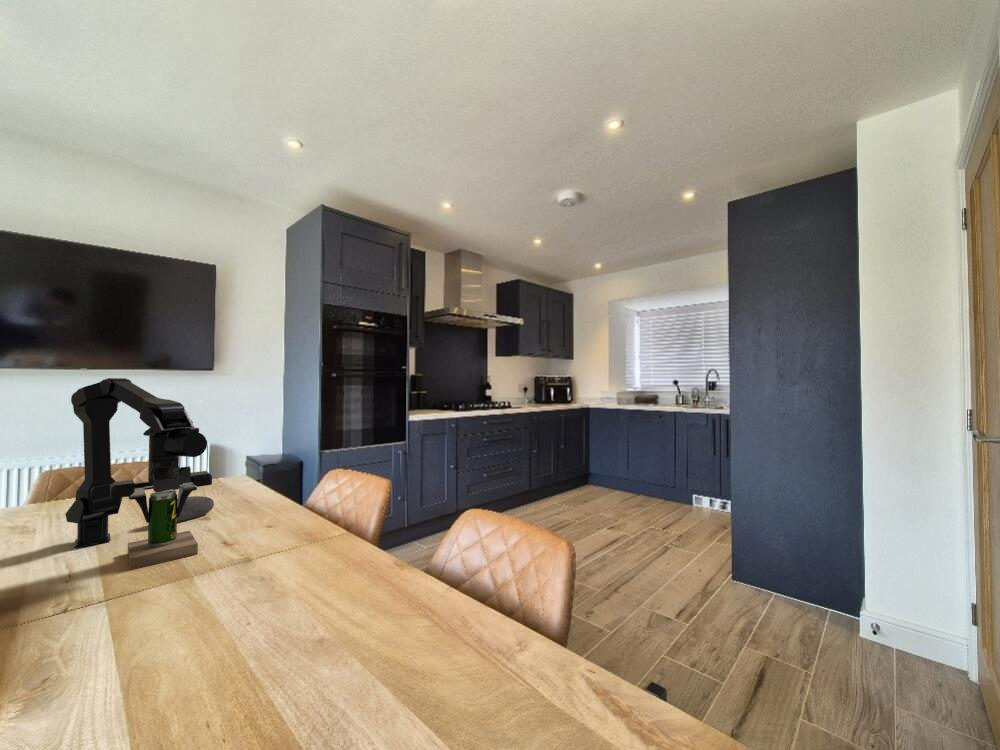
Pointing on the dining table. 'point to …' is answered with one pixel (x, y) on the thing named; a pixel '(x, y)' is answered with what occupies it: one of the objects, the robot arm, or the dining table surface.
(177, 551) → the walnut block
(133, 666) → the dining table surface
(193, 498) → the perforated stone tool
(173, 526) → the beer can
